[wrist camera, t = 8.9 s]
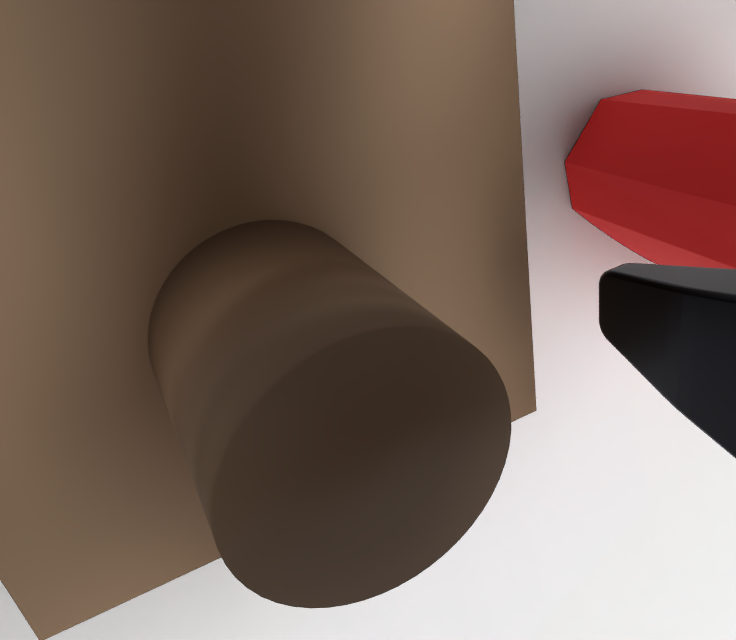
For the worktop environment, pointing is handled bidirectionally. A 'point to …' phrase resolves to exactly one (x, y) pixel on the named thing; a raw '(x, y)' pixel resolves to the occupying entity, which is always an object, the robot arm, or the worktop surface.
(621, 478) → the worktop surface
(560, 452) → the worktop surface
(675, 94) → the french fries
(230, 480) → the brown knobbed box
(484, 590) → the worktop surface
